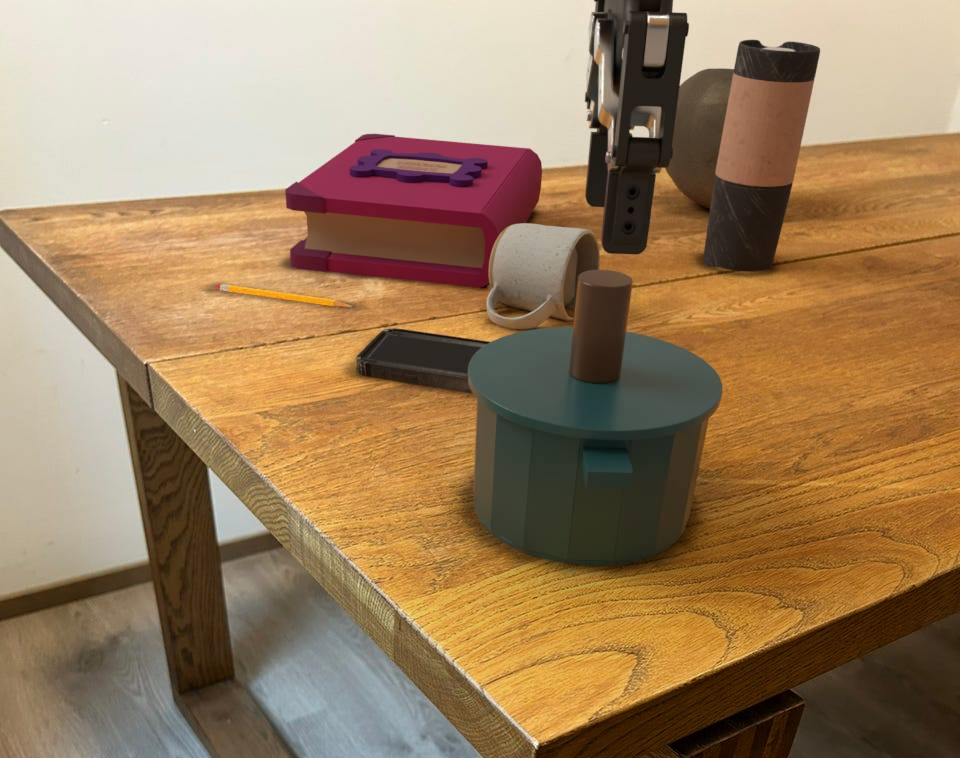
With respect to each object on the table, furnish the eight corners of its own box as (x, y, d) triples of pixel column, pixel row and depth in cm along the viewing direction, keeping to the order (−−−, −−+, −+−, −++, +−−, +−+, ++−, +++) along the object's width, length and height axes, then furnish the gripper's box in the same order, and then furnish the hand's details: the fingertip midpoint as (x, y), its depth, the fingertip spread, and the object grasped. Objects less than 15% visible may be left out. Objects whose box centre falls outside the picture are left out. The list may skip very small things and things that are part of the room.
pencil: (219, 290, 93) (218, 282, 93) (354, 309, 91) (354, 301, 90) (215, 293, 92) (214, 285, 92) (351, 312, 90) (350, 304, 89)
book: (539, 213, 117) (544, 142, 112) (495, 291, 95) (499, 207, 91) (366, 197, 120) (364, 127, 115) (285, 269, 98) (278, 186, 93)
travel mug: (745, 282, 100) (791, 54, 88) (685, 262, 105) (721, 42, 92) (788, 268, 105) (838, 48, 92) (728, 249, 109) (768, 37, 97)
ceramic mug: (519, 290, 96) (524, 206, 91) (597, 307, 93) (606, 221, 88) (463, 325, 88) (465, 235, 84) (545, 345, 85) (552, 254, 81)
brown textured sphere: (767, 199, 126) (794, 64, 117) (764, 230, 115) (794, 83, 106) (655, 188, 129) (674, 54, 119) (642, 217, 118) (661, 72, 109)
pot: (662, 443, 72) (681, 327, 66) (713, 598, 57) (743, 463, 51) (472, 437, 71) (477, 320, 66) (473, 591, 56) (479, 455, 51)
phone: (385, 326, 84) (560, 351, 81) (385, 339, 84) (559, 364, 82) (351, 361, 78) (538, 389, 75) (351, 375, 78) (537, 403, 76)
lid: (694, 348, 65) (713, 242, 61) (743, 455, 53) (770, 332, 49) (467, 340, 65) (470, 233, 60) (466, 446, 53) (471, 322, 49)
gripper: (781, -162, 38) (707, 273, 48) (710, -158, 49) (662, 194, 59) (583, -170, 37) (551, 269, 47) (557, -164, 49) (535, 190, 59)
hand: (612, 227), depth 53 cm, fingers open, 8 cm apart
